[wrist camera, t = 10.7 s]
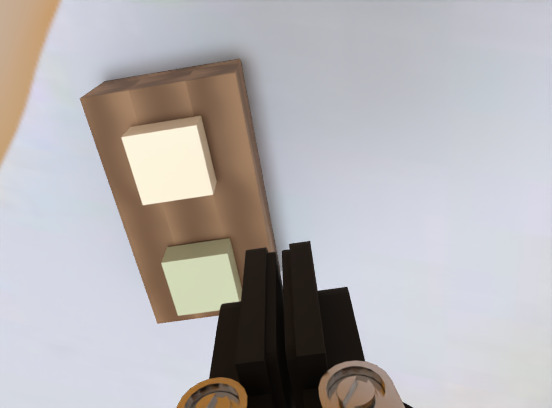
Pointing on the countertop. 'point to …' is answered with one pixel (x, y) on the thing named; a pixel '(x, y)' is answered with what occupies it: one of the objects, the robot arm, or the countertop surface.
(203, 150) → the cream block
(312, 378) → the robot arm
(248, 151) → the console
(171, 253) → the pale green block
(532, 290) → the countertop surface
